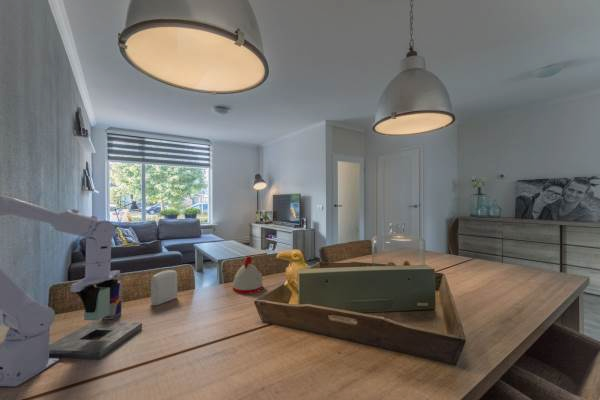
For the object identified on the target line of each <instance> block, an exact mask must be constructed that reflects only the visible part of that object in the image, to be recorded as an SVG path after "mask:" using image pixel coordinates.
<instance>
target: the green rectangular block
mask: <svg viewBox="0 0 600 400" xmlns="http://www.w3.org/2000/svg"><path fill="white" fill-rule="evenodd" d="M95 288H101V289H100V291H99V293H98V296H97V301H96V309H95V312H93V313H86V311H85V307H84V306H83V307H84V314H83V321H100V320H101V319H103V318H104V317H105V316H107V315H109V304H110V287H97V286H95Z"/></svg>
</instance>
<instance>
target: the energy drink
mask: <svg viewBox="0 0 600 400" xmlns="http://www.w3.org/2000/svg"><path fill="white" fill-rule="evenodd" d="M117 280H118V279H117ZM122 290H123V283H122V280H118V283H117V284H116V286H115V288H114V289H113V291H112V294H111V297H110V304H109V315H107V316H105V317H104V318H102V319H103V320H105V321H106V320H107V321H108V320H113V319H116V318H119V317H121V315H122V305H123V304H122V302H123V301H122V297H123V291H122Z"/></svg>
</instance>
